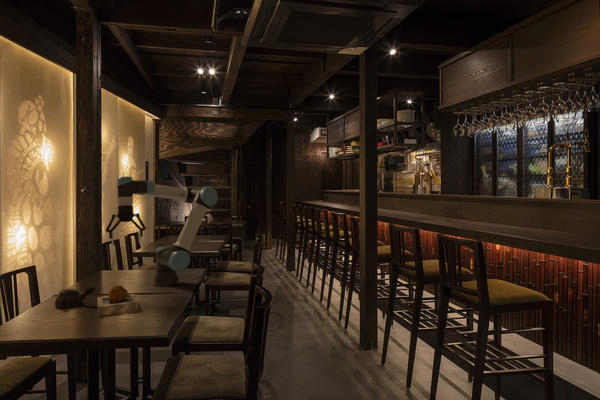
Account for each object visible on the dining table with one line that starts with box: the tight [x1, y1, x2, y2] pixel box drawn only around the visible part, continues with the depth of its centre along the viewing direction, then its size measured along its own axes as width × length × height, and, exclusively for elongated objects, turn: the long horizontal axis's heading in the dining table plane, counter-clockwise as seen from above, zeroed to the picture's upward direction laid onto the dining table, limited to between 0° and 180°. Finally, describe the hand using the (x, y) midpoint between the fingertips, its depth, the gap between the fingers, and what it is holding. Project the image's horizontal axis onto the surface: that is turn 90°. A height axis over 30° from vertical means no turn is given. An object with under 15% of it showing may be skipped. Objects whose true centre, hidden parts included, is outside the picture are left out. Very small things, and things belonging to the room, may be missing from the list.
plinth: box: [97, 293, 139, 317], centre depth 199 cm, size 17×19×4 cm
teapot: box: [54, 284, 96, 309], centre depth 204 cm, size 19×15×10 cm
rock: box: [108, 285, 129, 303], centre depth 200 cm, size 11×8×10 cm
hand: (126, 243), depth 224 cm, fingers open, 13 cm apart
